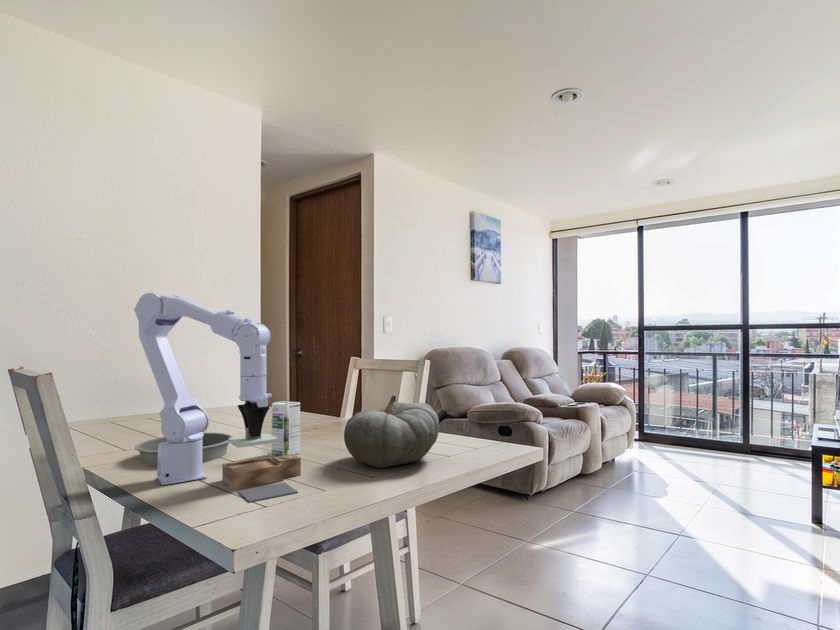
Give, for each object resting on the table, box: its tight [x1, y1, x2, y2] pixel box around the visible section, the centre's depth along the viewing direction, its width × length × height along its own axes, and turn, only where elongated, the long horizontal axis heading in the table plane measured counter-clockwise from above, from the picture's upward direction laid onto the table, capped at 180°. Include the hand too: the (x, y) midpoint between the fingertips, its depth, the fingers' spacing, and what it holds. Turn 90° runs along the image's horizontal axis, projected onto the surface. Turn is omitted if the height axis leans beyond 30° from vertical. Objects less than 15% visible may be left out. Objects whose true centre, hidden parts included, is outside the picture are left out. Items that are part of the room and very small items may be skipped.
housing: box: [221, 454, 302, 491], centre depth 114 cm, size 16×10×4 cm, turn 125°
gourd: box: [343, 395, 440, 469], centre depth 129 cm, size 25×25×17 cm
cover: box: [228, 427, 279, 449], centre depth 113 cm, size 9×8×3 cm
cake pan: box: [134, 432, 234, 467], centre depth 138 cm, size 25×25×4 cm
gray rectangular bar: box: [267, 451, 282, 459], centre depth 126 cm, size 9×2×3 cm, turn 35°
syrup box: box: [271, 400, 301, 456], centre depth 138 cm, size 6×6×14 cm
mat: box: [238, 481, 299, 503], centre depth 104 cm, size 10×8×1 cm
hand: (253, 435), depth 113 cm, fingers closed on cover, 2 cm apart
